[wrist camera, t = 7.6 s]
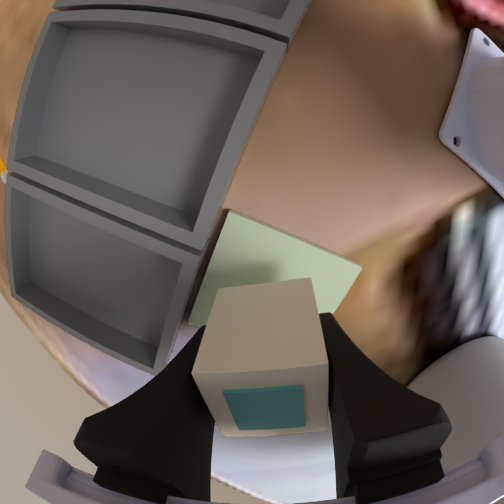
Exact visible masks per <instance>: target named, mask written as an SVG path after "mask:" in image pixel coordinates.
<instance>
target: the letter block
mask: <svg viewBox="0 0 504 504" xmlns="http://www.w3.org/2000/svg"><path fill="white" fill-rule="evenodd" d="M191 374H192V376H193V378H194V380H195V382H196V384H197V386H198V388H199V390H200V392H201V394H202V396H203V398H204V400H205V402H206V404H207V406H208V408H209V410H210V412H211V414H212V416H213V418H214V420H215V422H216V424H217V425H218V427H219V429H220V431H221V433H222V435H223V436H224V437H253V436H277V435H291V434H302V433H311V432H319V431H327V416H328V358H327V353H326V348H325V343H324V338H323V333H322V328H321V323H320V318H319V313H318V308H317V304H316V299H315V295H314V290H313V286H312V281H311V277H309V278H301V279H294V280H286V281H278V282H270V283H261V284H253V285H244V286H236V287H227V288H218V291H217V294H216V297H215V300H214V303H213V307H212V310H211V313H210V316H209V319H208V322H207V325H206V328H205V331H204V335H203V338H202V341H201V344H200V347H199V350H198V354H197V357H196V360H195V363H194V366H193V370H192V373H191Z"/></svg>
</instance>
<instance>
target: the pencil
mask: <svg viewBox="0 0 504 504" xmlns="http://www.w3.org/2000/svg"><path fill="white" fill-rule="evenodd" d="M8 173H9V172H8V171H7V169H6V167H5V165H4V163H3V161H2V159H1V157H0V177H1V179H2V181H3V183H4V184H5V186H6V177H7V174H8Z"/></svg>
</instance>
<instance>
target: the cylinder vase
mask: <svg viewBox="0 0 504 504" xmlns="http://www.w3.org/2000/svg"><path fill="white" fill-rule="evenodd" d="M407 388H408V389H410V390H412V391H414V392H416V393H417V394H419V395H422V396H424V397H426V398H428V399H431V400H433V401H435V402H438V403H440V404H441V405H442V407H443V409H444V410H445V412H446V414H447V416H448V417H449V420H450V422H451V425H452V431H451V433H450V435H449V437H448V438H447V440H446V441H445V442H444V444H443V445H442V446H441V448H440V450H441V453H442V458H441V459H440V462H441V465H442V468H443V470H444V469H446V468H448V467H451V466H453V465H455V464H458V463H460V462H462V461H464V460H466V459H468V458H470V457H472V456H474V455H476V454H478V453H480V452H481V450H482V449H483V448H484V447H485V446H486V445H487V444H488V443H490V442H491V441H492V440H494V439H496V438H497V437H499V436H501V435H503V434H504V340H503V339H501V338H499V337H495V336H487V337H481V338H477V339H474V340H471V341H469V342H467V343H464V344H462V345H460V346H458V347H457V348H455V349H453V350H451V351H450V352H448V353H446V354H445V355H443V356H442V357H440V358H439V359H438V360H436V361H435V362H433V363H432V364H431V365H430V366H428V367H427V368H426V369H425V370H424V371H422V372H421V373H420V374H419V375H418V376H417V377H416V378H415V379H414V380H413V381H412V382H411V383H410V384H409V385H408V386H407ZM493 504H504V497H502V498H501V499H499V500H498V501H496V502H494V503H493Z"/></svg>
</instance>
